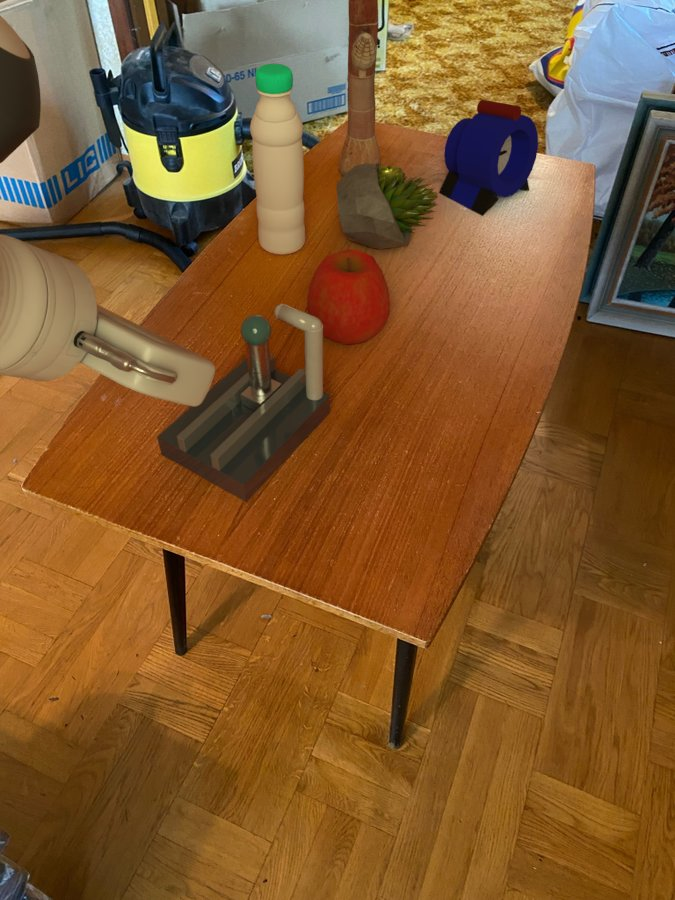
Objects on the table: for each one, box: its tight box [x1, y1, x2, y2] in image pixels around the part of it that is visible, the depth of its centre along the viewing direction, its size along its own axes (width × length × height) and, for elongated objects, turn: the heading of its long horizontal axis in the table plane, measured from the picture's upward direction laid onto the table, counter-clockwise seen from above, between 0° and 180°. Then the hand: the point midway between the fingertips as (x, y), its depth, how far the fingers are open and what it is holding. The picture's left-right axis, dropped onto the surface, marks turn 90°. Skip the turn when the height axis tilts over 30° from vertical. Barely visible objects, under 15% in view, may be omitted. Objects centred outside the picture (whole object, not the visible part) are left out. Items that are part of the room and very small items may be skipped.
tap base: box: [156, 303, 331, 503], centre depth 77 cm, size 12×16×14 cm
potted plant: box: [336, 163, 439, 250], centre depth 105 cm, size 12×13×15 cm
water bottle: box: [249, 63, 306, 256], centre depth 99 cm, size 7×7×25 cm
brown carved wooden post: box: [338, 0, 382, 178], centre depth 112 cm, size 10×7×30 cm
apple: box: [306, 249, 391, 346], centre depth 91 cm, size 11×11×11 cm
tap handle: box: [239, 314, 282, 411], centre depth 77 cm, size 3×4×12 cm
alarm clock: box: [438, 99, 539, 217], centre depth 114 cm, size 12×12×15 cm
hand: (153, 348), depth 61 cm, fingers closed
